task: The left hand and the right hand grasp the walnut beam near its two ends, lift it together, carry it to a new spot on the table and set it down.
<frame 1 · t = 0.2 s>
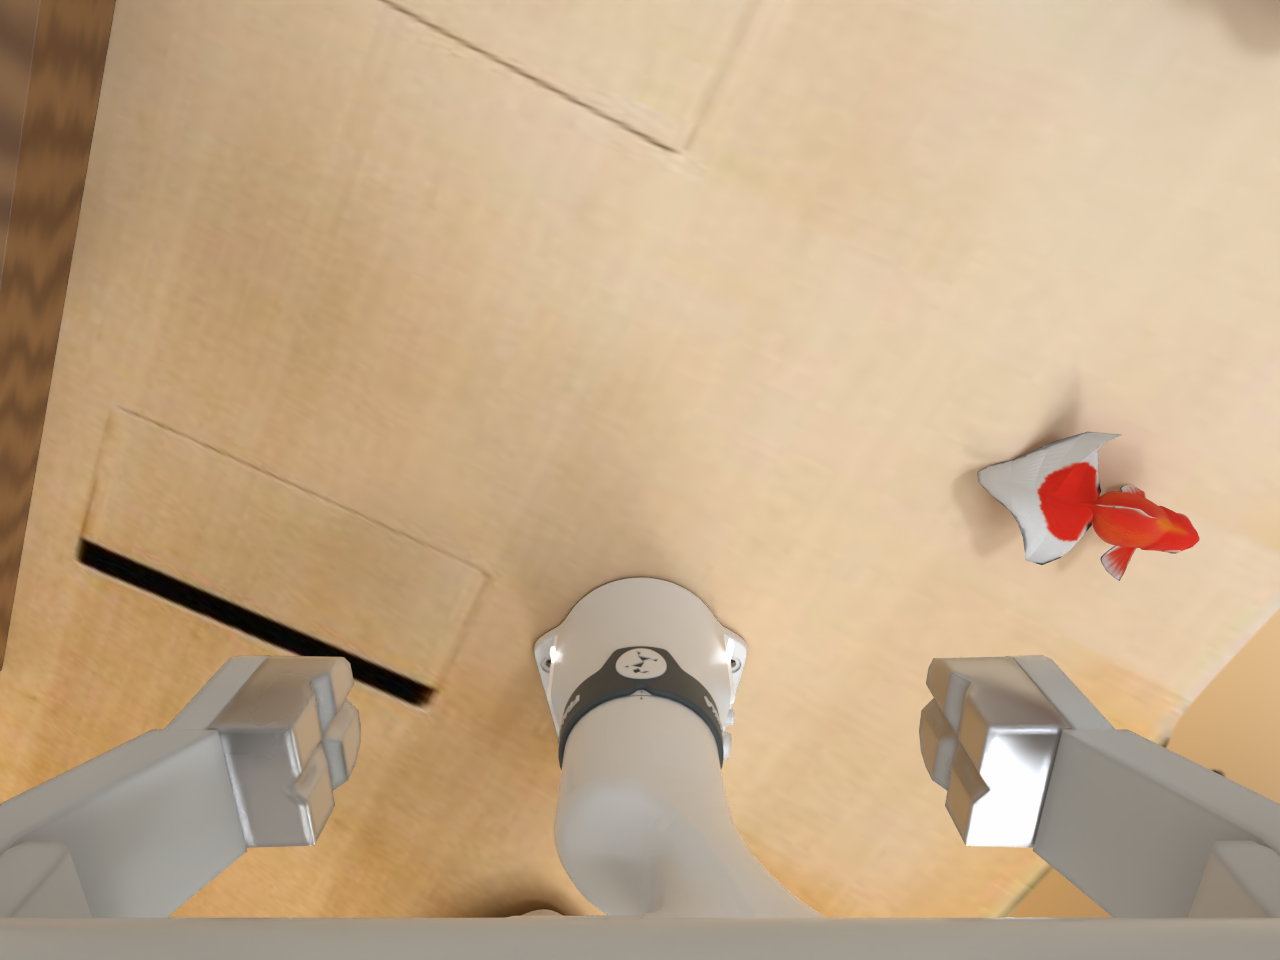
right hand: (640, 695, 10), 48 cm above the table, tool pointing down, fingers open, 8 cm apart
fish: (1054, 490, 61), on the table
beam: (32, 264, 54), on the table
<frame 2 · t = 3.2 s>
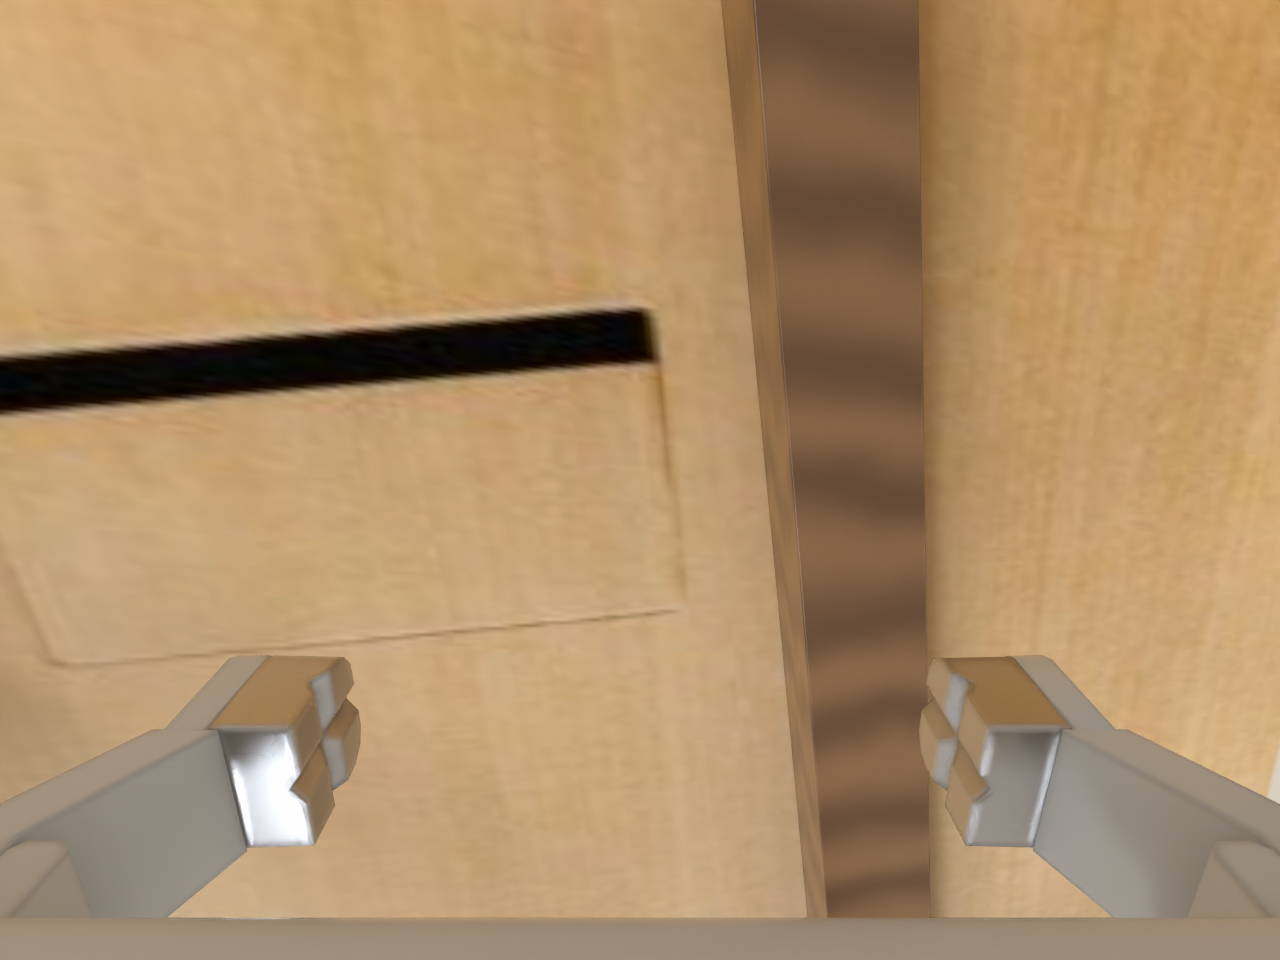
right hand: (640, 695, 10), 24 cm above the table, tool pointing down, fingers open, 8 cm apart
beam: (836, 723, 40), on the table
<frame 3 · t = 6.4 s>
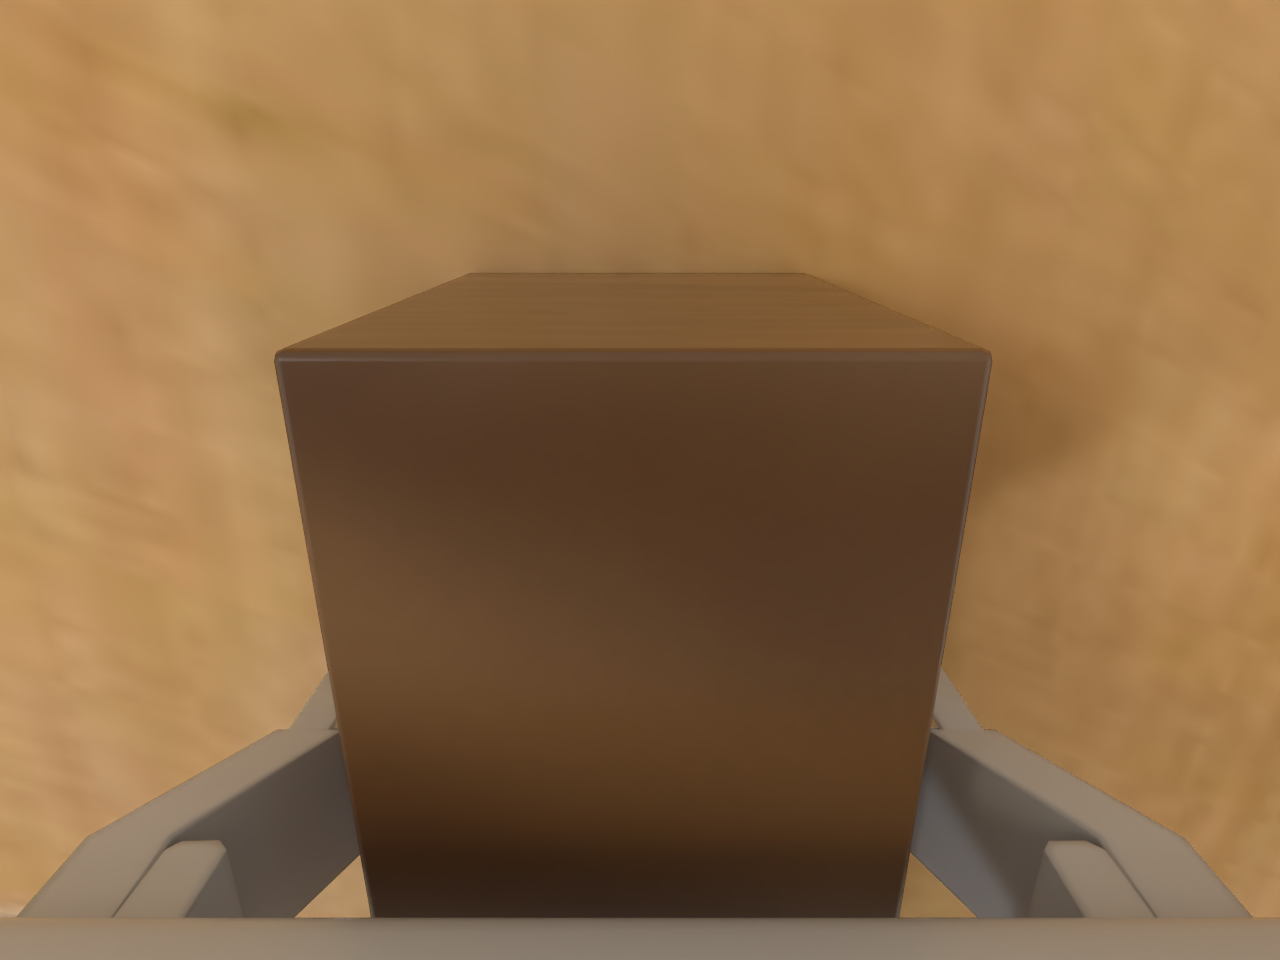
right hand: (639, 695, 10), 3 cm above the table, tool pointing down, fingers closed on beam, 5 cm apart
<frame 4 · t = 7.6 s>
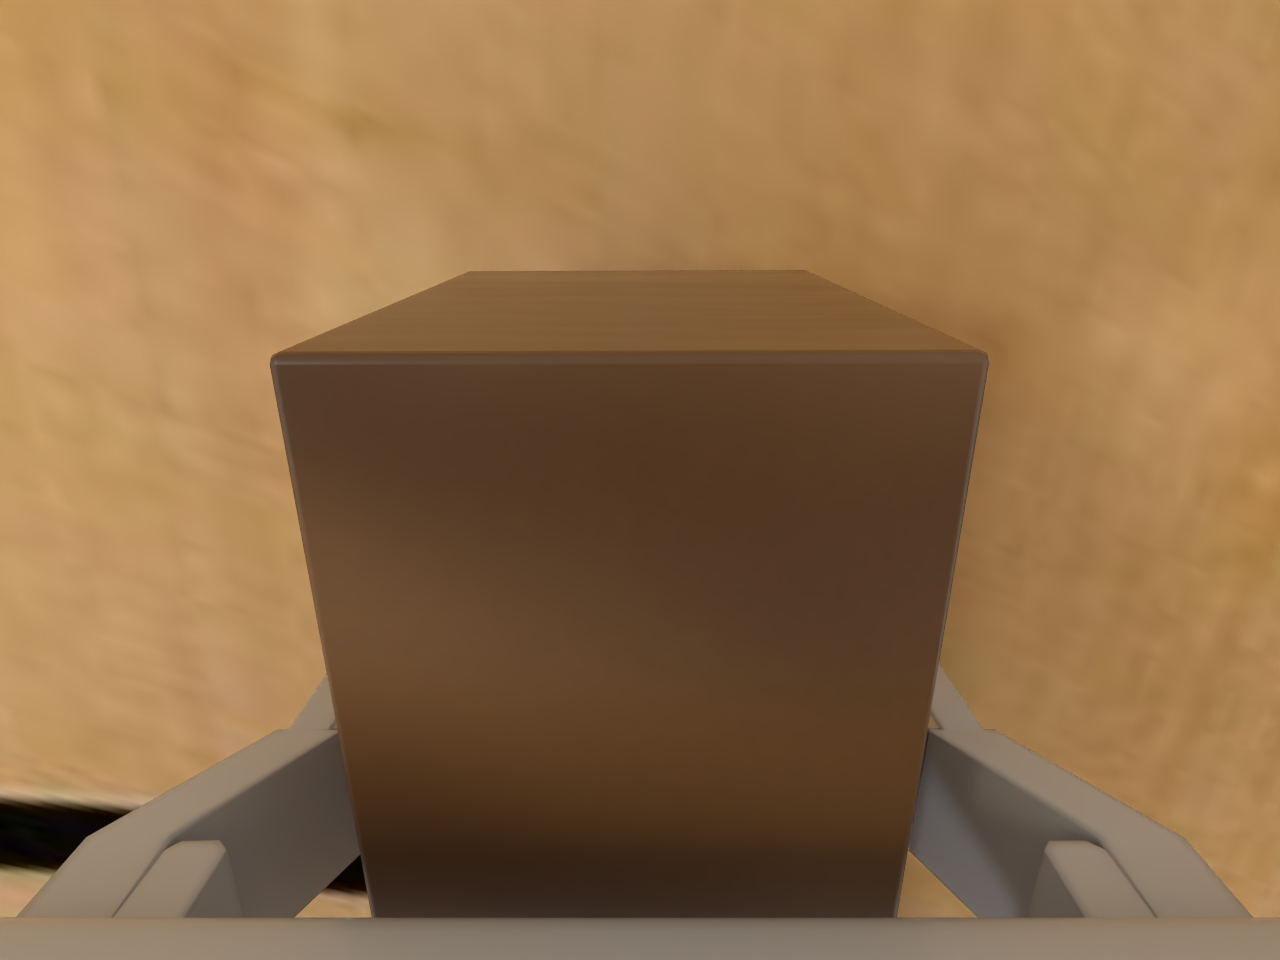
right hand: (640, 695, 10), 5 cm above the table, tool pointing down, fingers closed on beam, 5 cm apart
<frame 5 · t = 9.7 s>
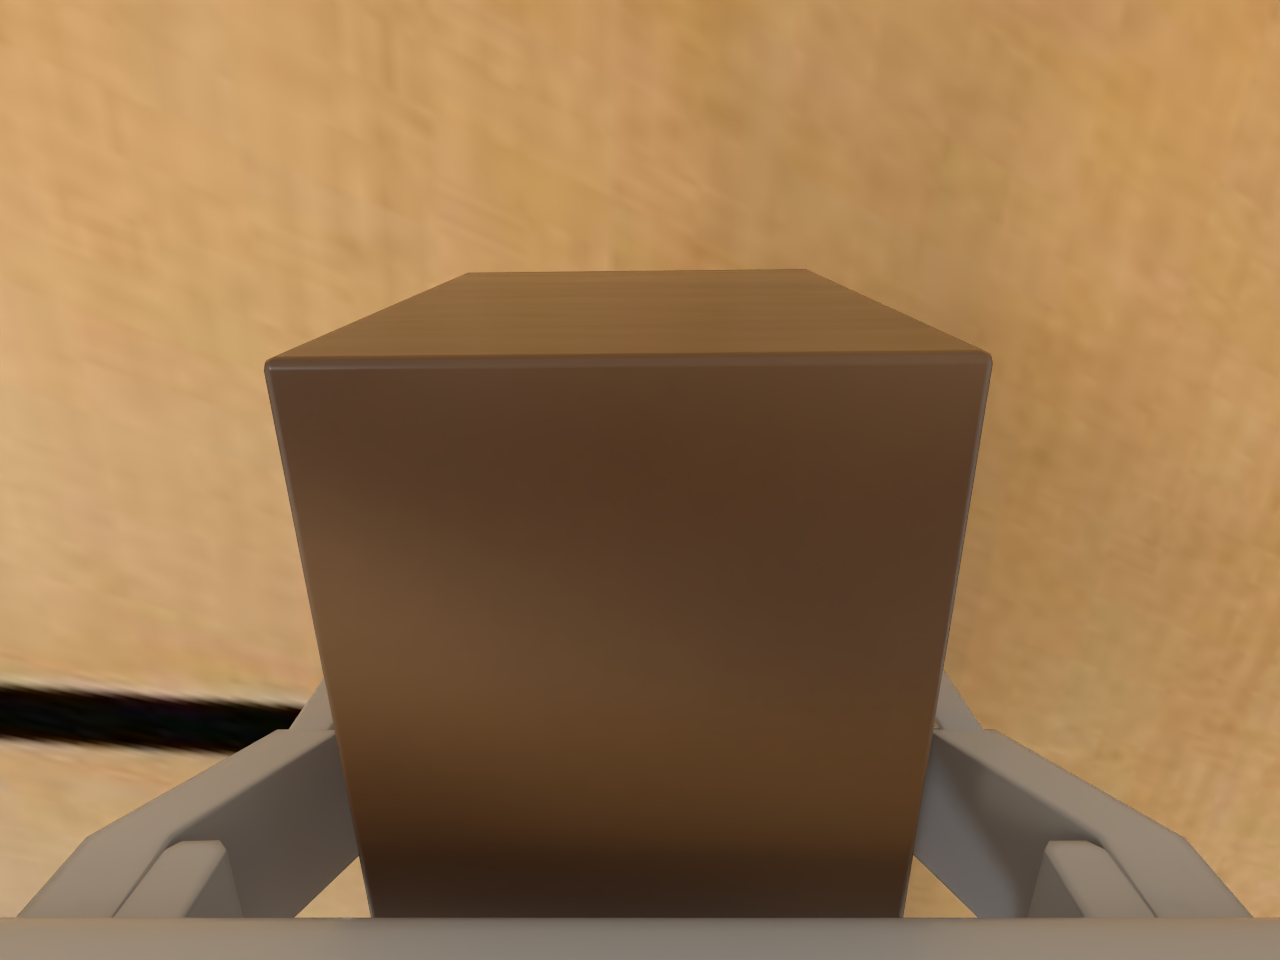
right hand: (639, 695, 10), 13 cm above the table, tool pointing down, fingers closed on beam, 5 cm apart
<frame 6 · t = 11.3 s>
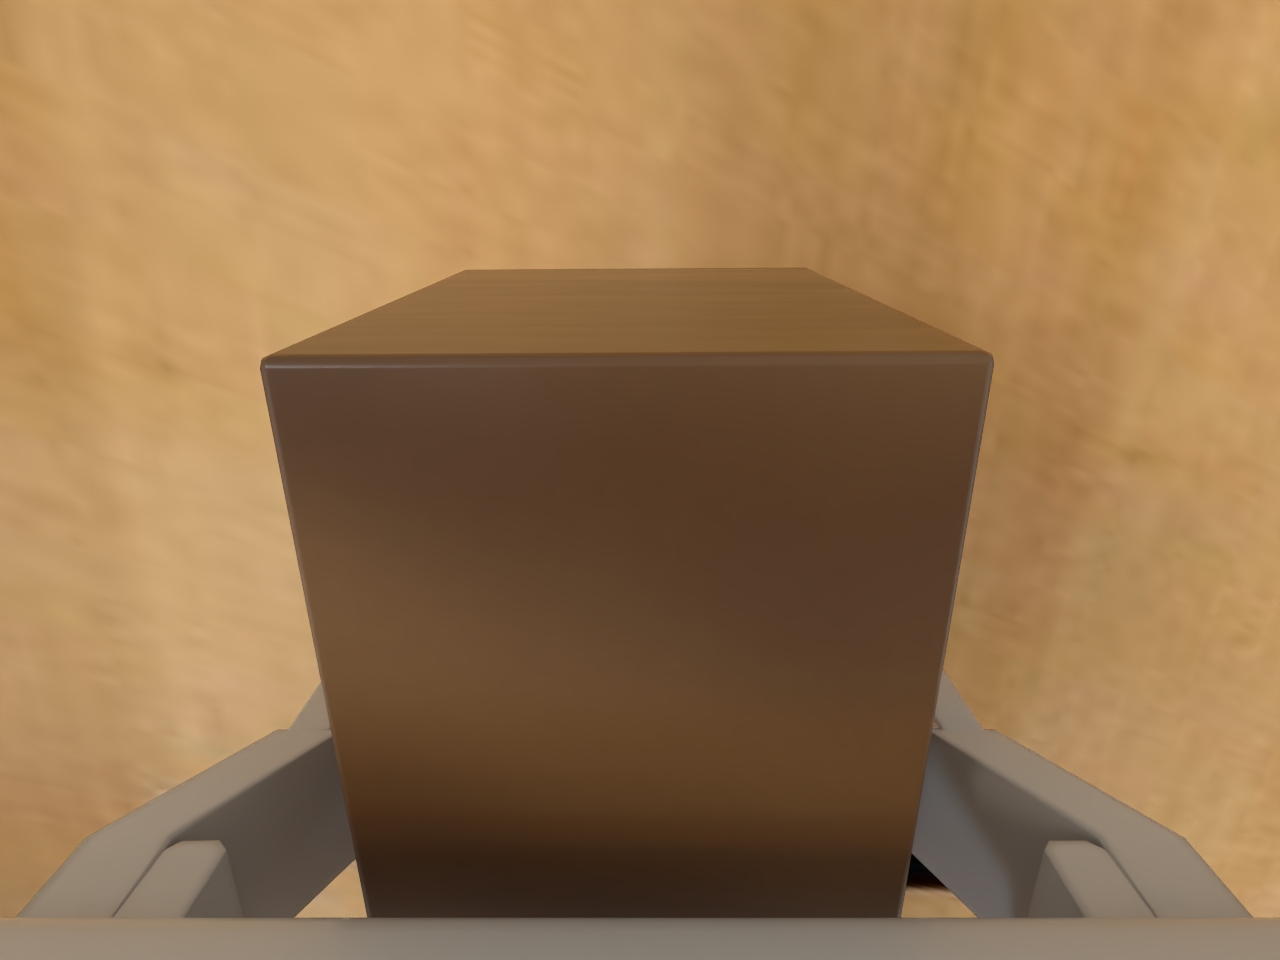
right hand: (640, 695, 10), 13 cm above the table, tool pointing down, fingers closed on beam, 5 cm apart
when the left hand's fingers open (1 cm above the table, at t = 12.6 s): beam stays where it is, on the table.
when the right hand's fingers open (4 cm above the table, at t = 12.8 s): beam stays where it is, on the table.
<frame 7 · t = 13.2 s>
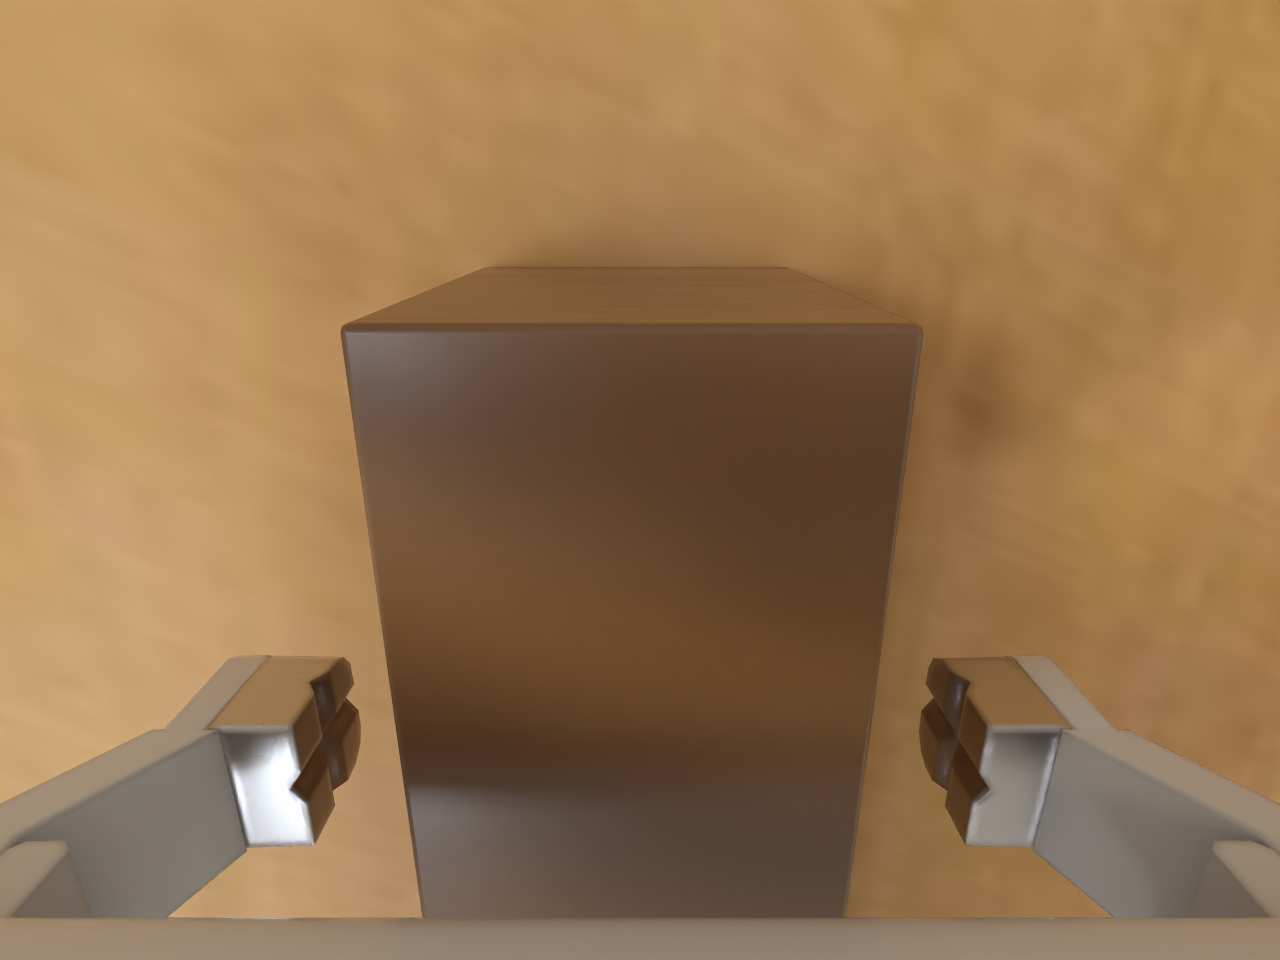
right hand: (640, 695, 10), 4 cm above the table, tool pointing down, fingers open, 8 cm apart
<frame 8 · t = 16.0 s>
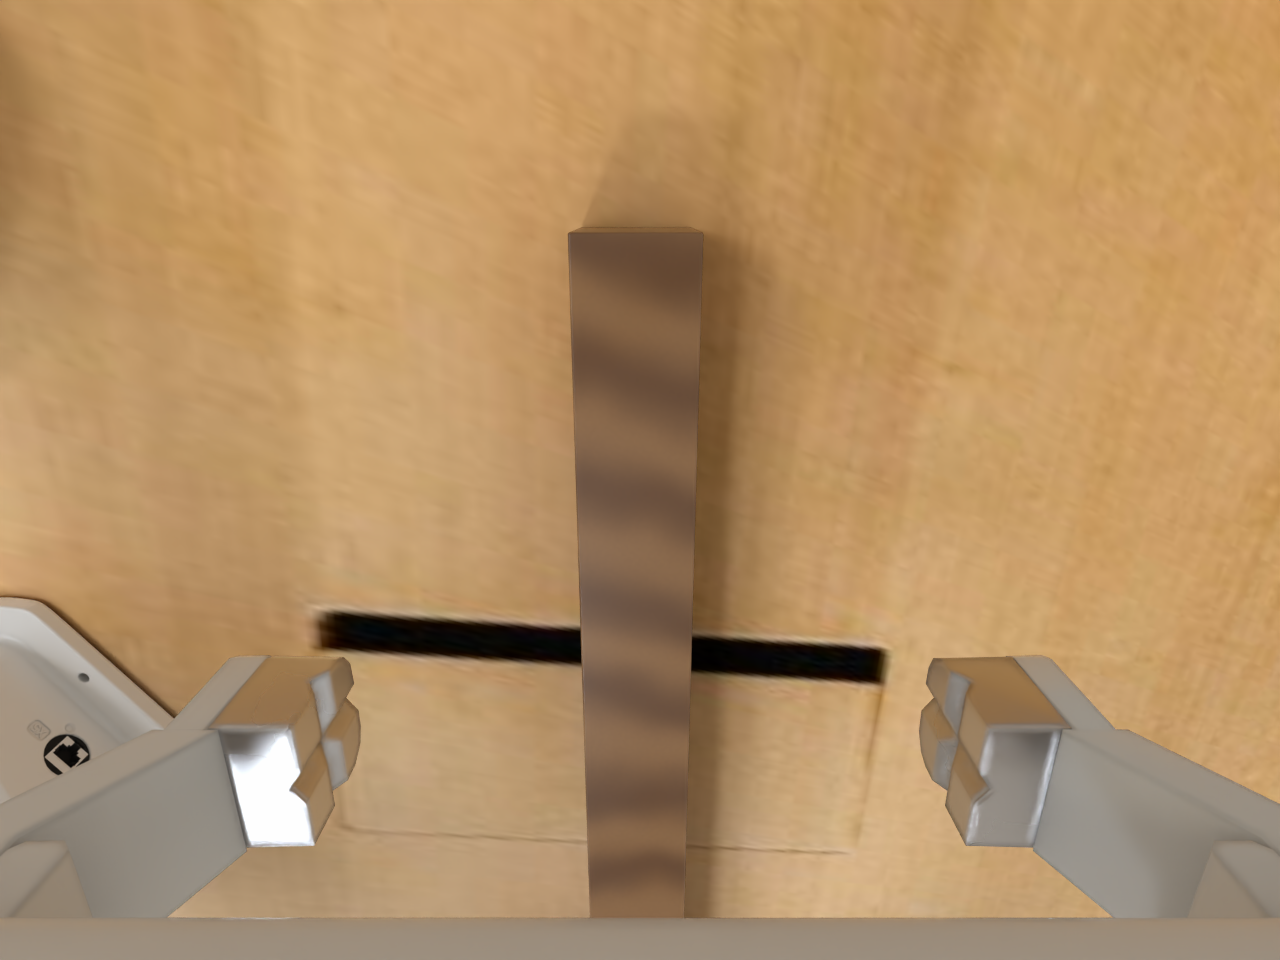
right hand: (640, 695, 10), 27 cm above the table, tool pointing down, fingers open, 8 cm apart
beam: (637, 851, 47), on the table
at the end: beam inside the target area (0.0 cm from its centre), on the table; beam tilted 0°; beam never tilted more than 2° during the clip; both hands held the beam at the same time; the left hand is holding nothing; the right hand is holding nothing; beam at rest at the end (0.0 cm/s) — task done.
